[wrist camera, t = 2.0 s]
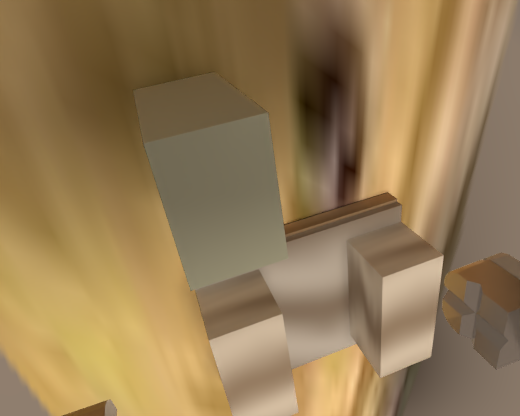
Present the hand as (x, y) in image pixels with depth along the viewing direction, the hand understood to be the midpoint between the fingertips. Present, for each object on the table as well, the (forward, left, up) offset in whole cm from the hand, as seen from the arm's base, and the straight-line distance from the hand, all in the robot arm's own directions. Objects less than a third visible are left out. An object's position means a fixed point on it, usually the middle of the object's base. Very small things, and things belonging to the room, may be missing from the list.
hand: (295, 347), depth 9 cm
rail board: (+12, +5, -14) cm, 19 cm away
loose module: (-1, 0, -14) cm, 14 cm away
